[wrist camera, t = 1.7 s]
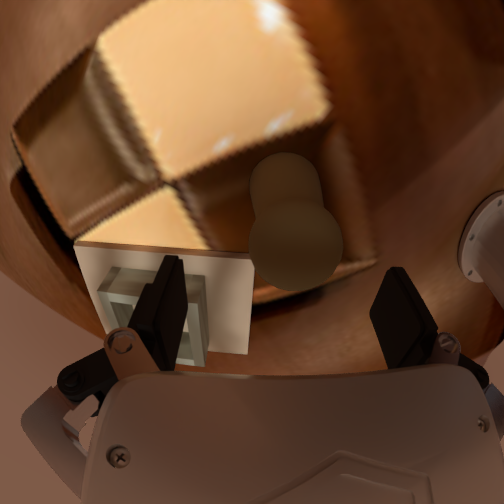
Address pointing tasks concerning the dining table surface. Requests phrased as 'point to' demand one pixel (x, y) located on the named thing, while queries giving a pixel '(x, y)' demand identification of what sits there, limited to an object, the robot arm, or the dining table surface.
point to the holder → (197, 286)
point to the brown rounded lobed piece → (291, 224)
